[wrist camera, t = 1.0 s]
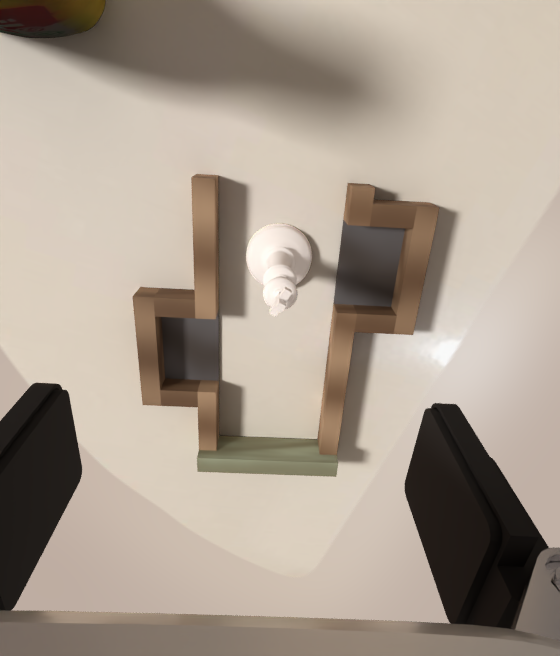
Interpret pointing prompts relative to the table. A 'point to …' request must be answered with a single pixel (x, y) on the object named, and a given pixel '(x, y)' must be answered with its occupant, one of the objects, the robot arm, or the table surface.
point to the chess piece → (279, 263)
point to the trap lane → (348, 317)
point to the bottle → (49, 17)
